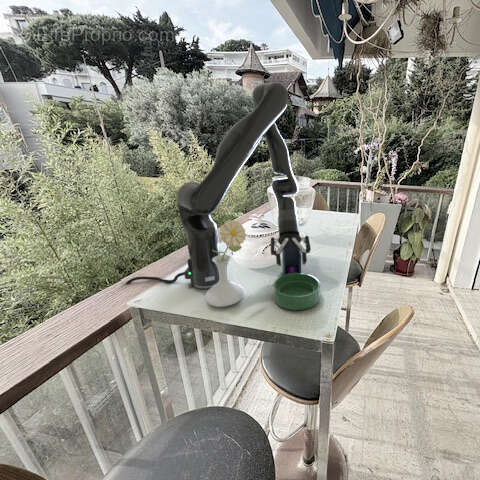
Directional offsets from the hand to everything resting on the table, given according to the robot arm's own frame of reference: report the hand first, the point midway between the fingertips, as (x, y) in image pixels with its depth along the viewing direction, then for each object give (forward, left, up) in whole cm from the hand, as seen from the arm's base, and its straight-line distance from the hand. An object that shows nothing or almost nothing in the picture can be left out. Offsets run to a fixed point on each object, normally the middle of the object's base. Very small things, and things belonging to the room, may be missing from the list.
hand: (292, 264), depth 93 cm
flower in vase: (-19, -13, -5) cm, 24 cm away
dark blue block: (0, +1, -5) cm, 5 cm away
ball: (0, +1, -3) cm, 3 cm away
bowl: (+2, -13, -5) cm, 14 cm away
